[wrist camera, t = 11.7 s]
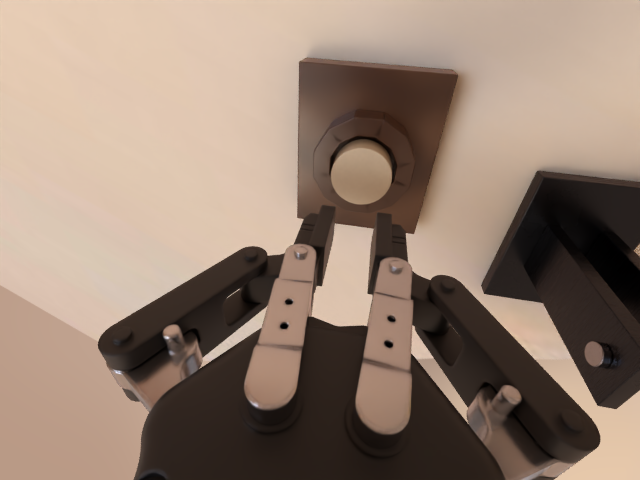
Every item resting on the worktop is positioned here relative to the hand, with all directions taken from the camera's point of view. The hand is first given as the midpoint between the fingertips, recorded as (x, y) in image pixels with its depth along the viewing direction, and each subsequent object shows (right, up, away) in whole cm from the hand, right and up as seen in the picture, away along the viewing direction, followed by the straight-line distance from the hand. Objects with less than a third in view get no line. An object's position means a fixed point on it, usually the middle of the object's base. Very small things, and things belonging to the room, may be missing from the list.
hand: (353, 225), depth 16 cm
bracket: (+19, -1, +11) cm, 22 cm away
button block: (+2, +6, +9) cm, 11 cm away
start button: (+1, +4, +6) cm, 7 cm away
